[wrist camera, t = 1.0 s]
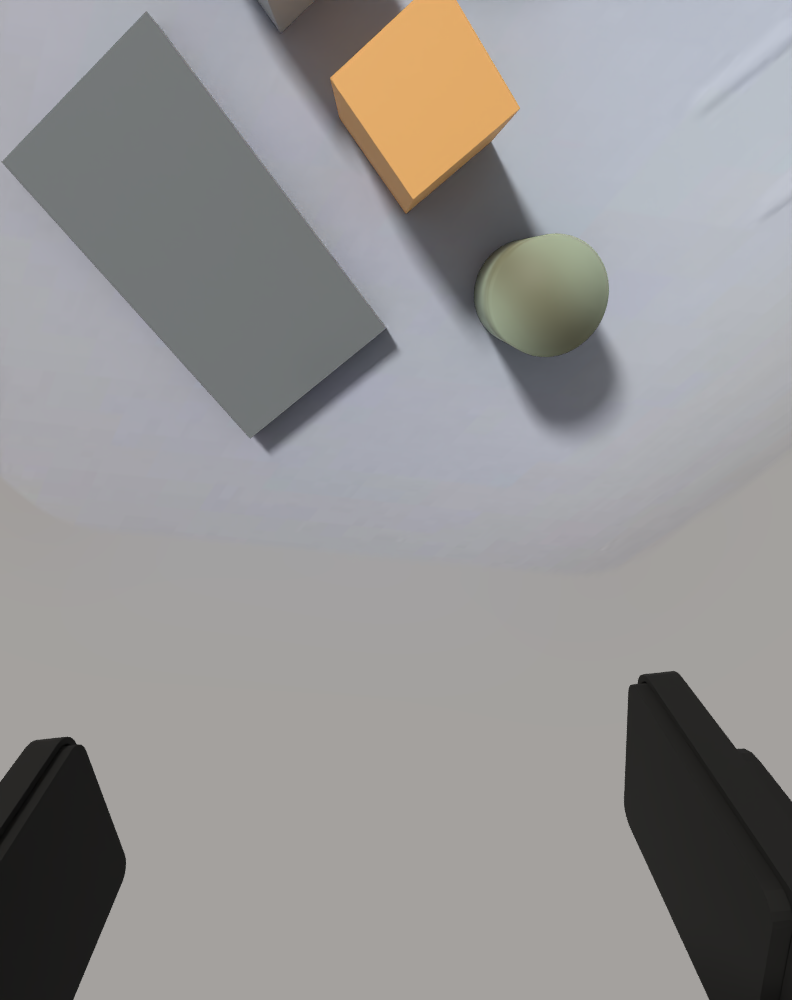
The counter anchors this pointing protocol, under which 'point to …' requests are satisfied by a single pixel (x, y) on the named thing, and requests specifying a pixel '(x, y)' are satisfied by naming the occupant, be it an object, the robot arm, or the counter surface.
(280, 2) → the grey block
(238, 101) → the counter surface
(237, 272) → the slate board
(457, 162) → the orange block
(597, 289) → the sage cylinder
